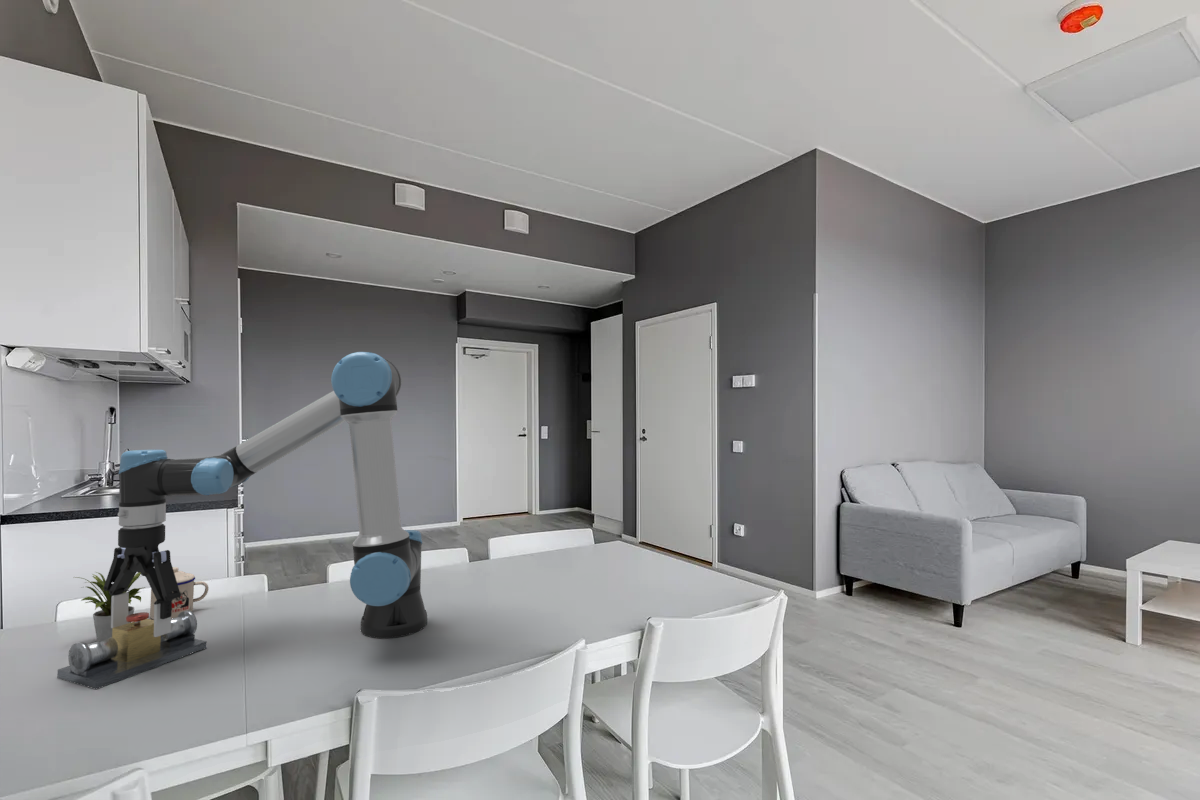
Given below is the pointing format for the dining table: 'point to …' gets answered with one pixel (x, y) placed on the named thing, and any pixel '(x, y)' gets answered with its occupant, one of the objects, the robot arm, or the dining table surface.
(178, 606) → the teacup with lid
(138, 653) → the brass valve
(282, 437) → the robot arm
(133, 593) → the house plant
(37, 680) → the dining table surface
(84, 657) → the pipe run
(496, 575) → the dining table surface
